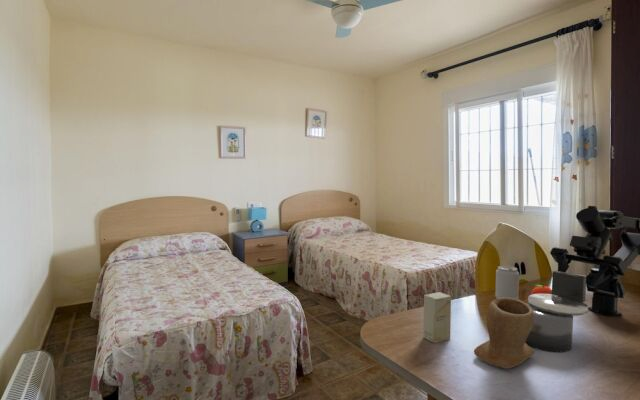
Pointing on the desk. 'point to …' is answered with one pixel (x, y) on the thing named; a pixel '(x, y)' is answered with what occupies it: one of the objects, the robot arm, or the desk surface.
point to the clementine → (541, 290)
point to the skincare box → (437, 317)
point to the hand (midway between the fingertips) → (575, 282)
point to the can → (507, 282)
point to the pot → (550, 331)
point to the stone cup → (507, 333)
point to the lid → (563, 295)
